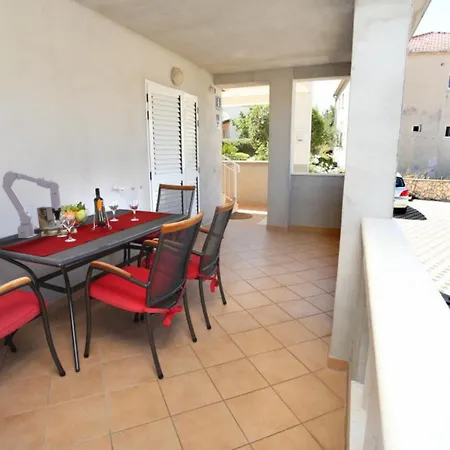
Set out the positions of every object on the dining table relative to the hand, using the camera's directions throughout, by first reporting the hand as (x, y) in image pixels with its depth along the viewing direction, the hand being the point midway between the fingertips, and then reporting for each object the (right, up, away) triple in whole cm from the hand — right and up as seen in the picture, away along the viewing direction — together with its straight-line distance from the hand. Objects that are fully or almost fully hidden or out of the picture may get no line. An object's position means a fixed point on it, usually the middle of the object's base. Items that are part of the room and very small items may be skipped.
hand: (57, 219), depth 235 cm
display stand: (0, -10, +2) cm, 10 cm away
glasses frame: (0, -6, +1) cm, 6 cm away
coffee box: (-15, -7, +15) cm, 22 cm away
